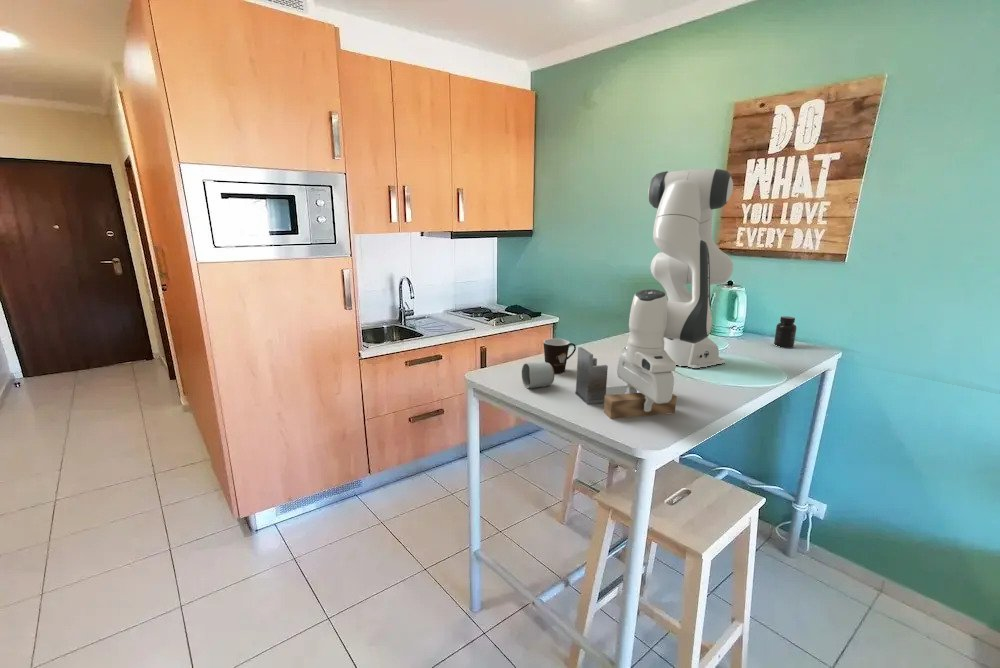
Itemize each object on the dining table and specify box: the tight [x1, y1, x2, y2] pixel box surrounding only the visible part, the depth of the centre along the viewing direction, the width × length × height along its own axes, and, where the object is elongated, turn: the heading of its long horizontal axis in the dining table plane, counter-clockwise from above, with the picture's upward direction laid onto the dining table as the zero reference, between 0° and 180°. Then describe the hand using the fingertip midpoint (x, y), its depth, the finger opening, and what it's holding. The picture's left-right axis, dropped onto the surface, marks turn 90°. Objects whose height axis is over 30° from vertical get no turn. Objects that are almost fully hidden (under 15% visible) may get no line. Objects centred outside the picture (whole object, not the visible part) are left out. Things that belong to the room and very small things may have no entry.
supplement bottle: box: [773, 316, 797, 348], centre depth 174 cm, size 7×7×12 cm
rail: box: [603, 393, 677, 420], centre depth 112 cm, size 18×4×5 cm, turn 101°
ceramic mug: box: [521, 361, 555, 389], centre depth 131 cm, size 11×8×8 cm
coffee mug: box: [542, 338, 577, 375], centre depth 143 cm, size 12×9×10 cm
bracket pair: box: [574, 346, 641, 405], centre depth 122 cm, size 22×8×14 cm, turn 104°
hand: (639, 405), depth 112 cm, fingers open, 5 cm apart
